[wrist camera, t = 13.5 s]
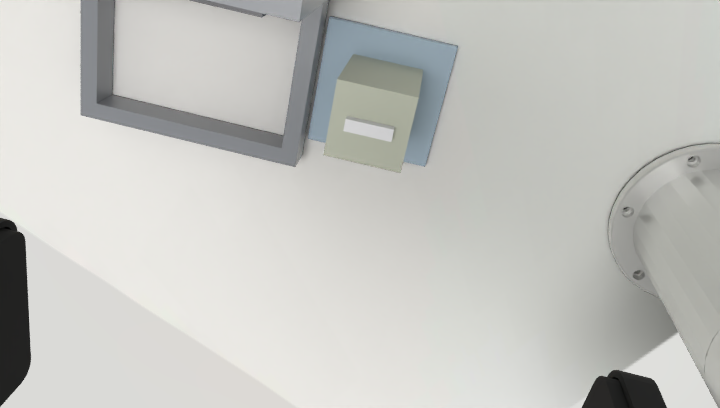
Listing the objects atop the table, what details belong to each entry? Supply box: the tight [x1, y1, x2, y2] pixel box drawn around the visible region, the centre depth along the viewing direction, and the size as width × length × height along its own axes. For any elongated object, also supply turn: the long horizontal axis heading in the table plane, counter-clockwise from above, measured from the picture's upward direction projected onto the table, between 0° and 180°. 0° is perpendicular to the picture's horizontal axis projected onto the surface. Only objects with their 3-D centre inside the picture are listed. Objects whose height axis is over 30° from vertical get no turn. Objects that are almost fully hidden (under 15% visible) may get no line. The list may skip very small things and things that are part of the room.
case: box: [81, 0, 329, 167], centre depth 39 cm, size 19×14×15 cm
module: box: [323, 54, 423, 173], centre depth 41 cm, size 5×5×8 cm
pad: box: [308, 16, 458, 167], centre depth 45 cm, size 9×9×1 cm
